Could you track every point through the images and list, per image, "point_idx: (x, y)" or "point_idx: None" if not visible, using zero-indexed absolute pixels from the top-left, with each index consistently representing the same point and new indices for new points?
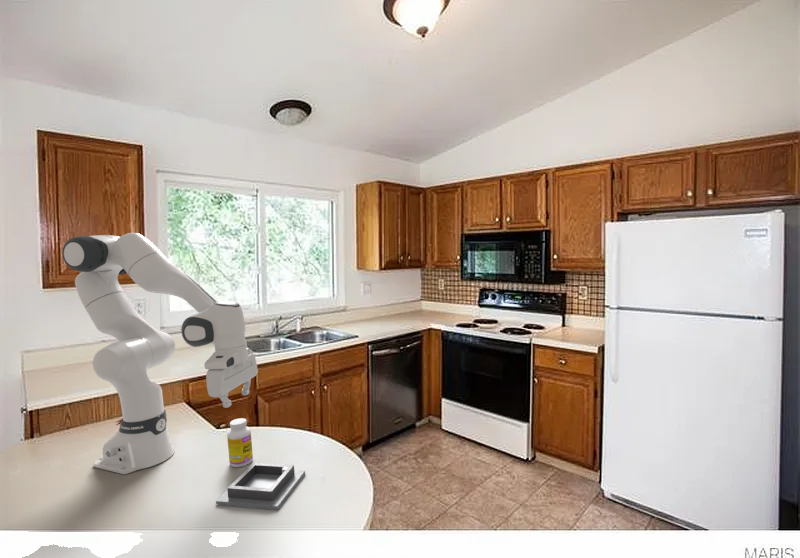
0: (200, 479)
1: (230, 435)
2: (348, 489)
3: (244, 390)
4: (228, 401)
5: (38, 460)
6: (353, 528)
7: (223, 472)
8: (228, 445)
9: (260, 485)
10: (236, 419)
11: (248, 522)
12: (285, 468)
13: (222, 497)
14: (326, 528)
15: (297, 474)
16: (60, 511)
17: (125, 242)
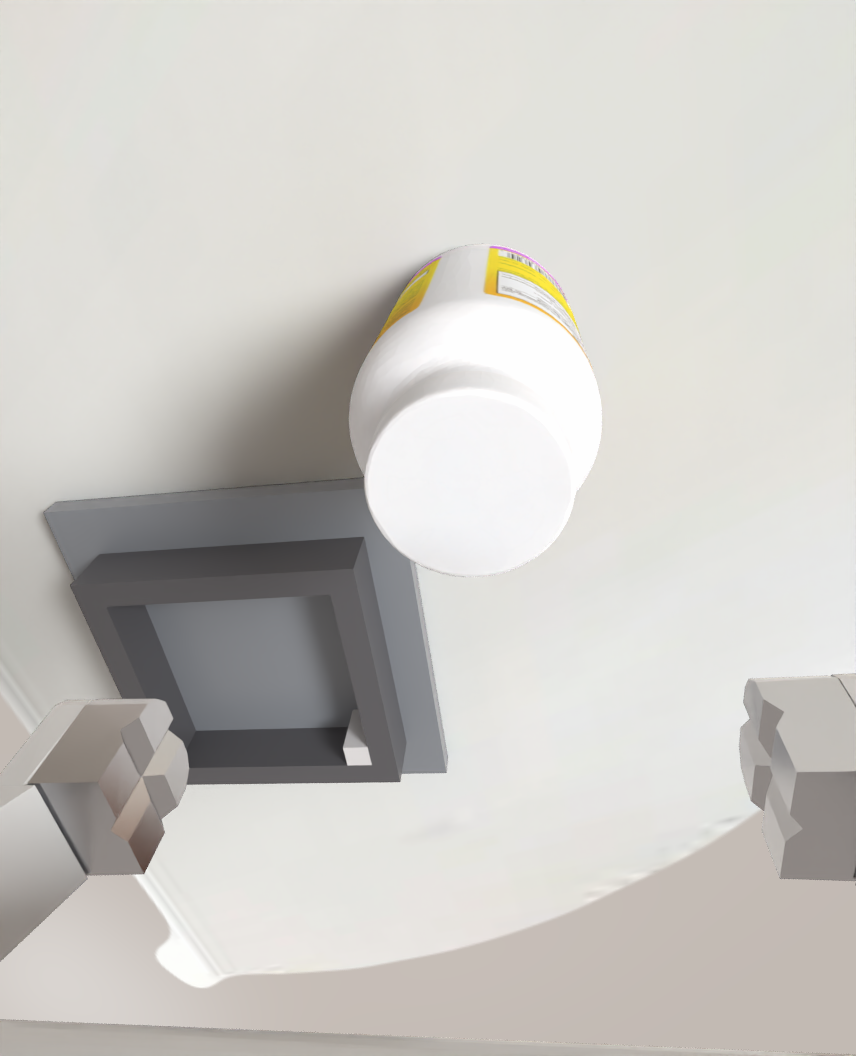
0: (182, 175)
1: (353, 416)
2: (390, 916)
3: (781, 827)
4: (58, 875)
5: None
6: (210, 962)
7: (321, 293)
8: (382, 329)
9: (253, 646)
10: (522, 427)
11: (58, 702)
12: (356, 760)
13: (82, 526)
14: (174, 911)
15: (404, 756)
16: None
17: None
